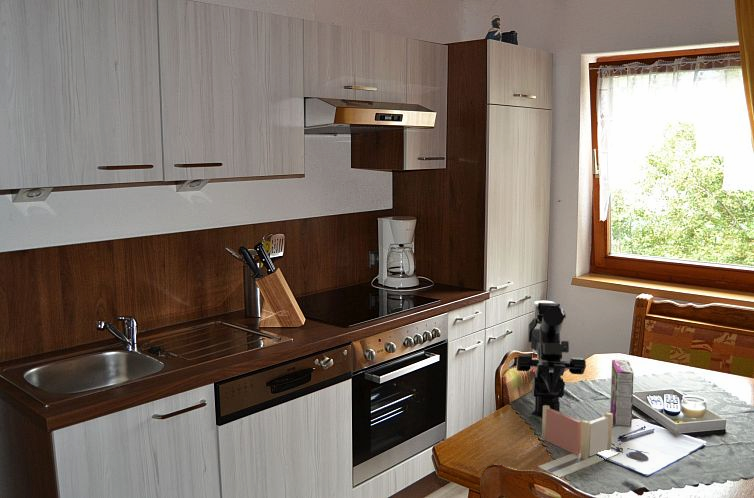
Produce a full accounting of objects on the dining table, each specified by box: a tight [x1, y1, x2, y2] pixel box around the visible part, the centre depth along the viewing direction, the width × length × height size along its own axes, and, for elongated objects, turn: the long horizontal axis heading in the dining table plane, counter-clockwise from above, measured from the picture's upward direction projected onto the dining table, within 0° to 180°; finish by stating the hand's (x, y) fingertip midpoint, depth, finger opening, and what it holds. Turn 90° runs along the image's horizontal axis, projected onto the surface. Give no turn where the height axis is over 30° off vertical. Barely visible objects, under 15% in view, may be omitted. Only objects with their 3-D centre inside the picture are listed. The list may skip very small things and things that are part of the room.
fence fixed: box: [580, 412, 614, 460], centre depth 185 cm, size 11×2×10 cm, turn 124°
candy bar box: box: [609, 359, 634, 427], centre depth 207 cm, size 11×5×16 cm, turn 168°
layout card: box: [537, 450, 605, 479], centre depth 182 cm, size 23×7×1 cm, turn 124°
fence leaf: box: [541, 405, 583, 455], centre depth 189 cm, size 13×2×9 cm, turn 34°
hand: (551, 392), depth 196 cm, fingers closed
